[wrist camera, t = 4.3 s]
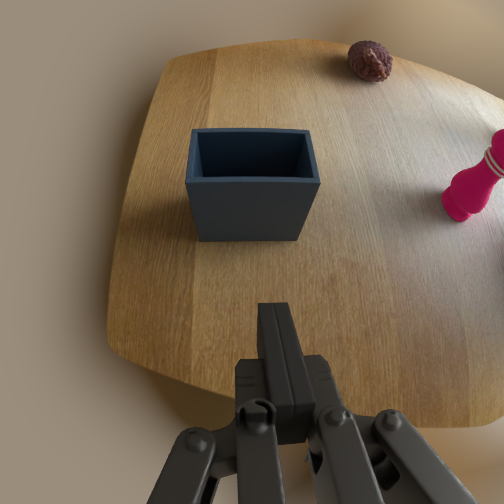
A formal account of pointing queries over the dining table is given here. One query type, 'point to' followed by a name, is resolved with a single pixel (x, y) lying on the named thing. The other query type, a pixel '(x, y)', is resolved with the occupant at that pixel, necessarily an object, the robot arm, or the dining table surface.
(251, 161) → the gray box
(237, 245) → the dining table surface
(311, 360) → the robot arm
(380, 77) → the pine cone
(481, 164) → the pepper mill
